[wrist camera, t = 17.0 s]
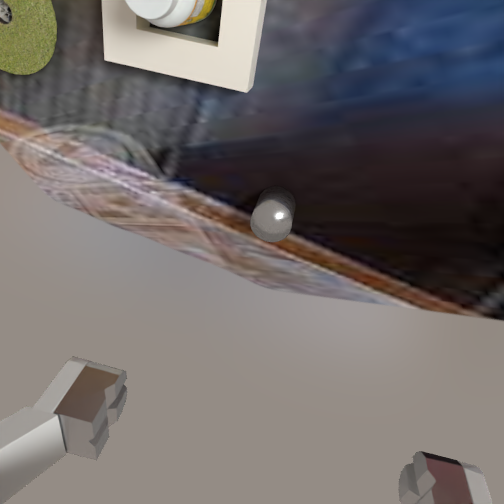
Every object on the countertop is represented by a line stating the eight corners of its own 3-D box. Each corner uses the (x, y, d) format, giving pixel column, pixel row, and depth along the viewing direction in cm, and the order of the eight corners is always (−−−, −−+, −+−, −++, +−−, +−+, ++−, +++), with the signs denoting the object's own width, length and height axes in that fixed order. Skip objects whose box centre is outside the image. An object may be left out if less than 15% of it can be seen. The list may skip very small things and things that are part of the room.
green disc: (-30, -94, 34) (-48, -98, 33) (82, -7, 37) (70, -7, 35) (-48, 25, 41) (-63, 27, 39) (50, 93, 43) (38, 97, 41)
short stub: (299, 191, 44) (295, 211, 40) (290, 224, 46) (286, 246, 42) (262, 182, 44) (254, 201, 40) (255, 215, 46) (247, 236, 42)
